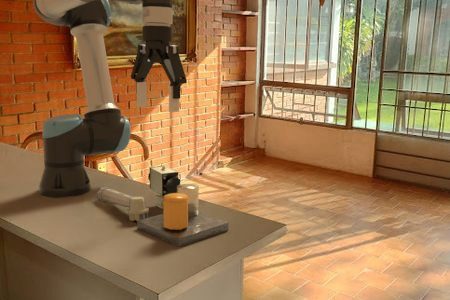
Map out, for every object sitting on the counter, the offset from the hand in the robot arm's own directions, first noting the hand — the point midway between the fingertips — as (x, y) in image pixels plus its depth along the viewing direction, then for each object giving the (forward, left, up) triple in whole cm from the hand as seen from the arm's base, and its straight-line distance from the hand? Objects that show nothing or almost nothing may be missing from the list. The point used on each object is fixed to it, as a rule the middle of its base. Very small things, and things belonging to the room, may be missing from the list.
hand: (157, 109), depth 129 cm
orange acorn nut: (+16, -7, -26) cm, 31 cm away
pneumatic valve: (-3, +5, -29) cm, 29 cm away
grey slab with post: (+14, -3, -29) cm, 32 cm away
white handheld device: (-9, -6, -29) cm, 31 cm away
